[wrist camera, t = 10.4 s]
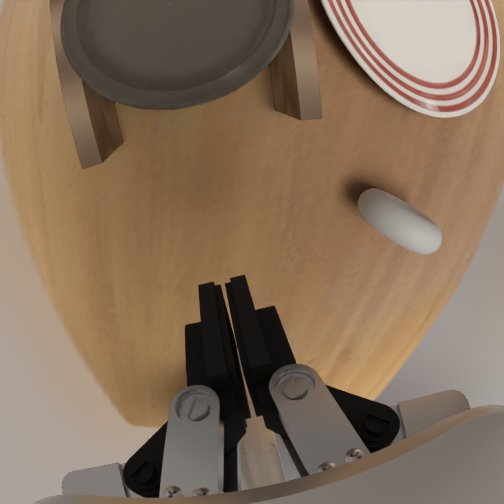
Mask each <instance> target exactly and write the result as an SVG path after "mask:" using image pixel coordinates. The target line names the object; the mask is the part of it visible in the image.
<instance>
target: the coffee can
mask: <svg viewBox="0 0 504 504" xmlns="http://www.w3.org/2000/svg"><path fill="white" fill-rule="evenodd" d="M294 8H295V0H65V1H64V5H63V9H62V14H61V24H60V32H61V42H62V46H63V50H64V53H65V55H66V58H67V60H68V61H69V63H70V65H71V67H72V68H73V70H74V71H75V72H76V74H77V75H78V76H79V77H80V78H81V79H82V81H83V82H84V83H86V84H87V85H88V86H89V87H90V88H91V89H93V90H94V91H96V92H97V93H99V94H100V95H102V96H104V97H106V98H108V99H110V100H112V101H115V102H117V103H120V104H124V105H127V106H132V107H135V108H143V109H154V110H173V109H180V108H186V107H191V106H196V105H201V104H204V103H207V102H210V101H213V100H215V99H218V98H220V97H223V96H225V95H227V94H229V93H231V92H233V91H235V90H237V89H239V88H240V87H242V86H243V85H245V84H246V83H248V82H249V81H250V80H252V79H253V78H255V77H256V76H257V75H258V74H259V73H260V72H261V71H262V70H263V69H264V68H265V67H266V66H267V65H268V64H269V63H270V62H271V61H272V60H273V59H274V57H275V56H276V55H277V53H278V52H279V51H280V49H281V47H282V46H283V44H284V42H285V40H286V38H287V36H288V33H289V30H290V28H291V25H292V22H293V16H294Z"/></svg>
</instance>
